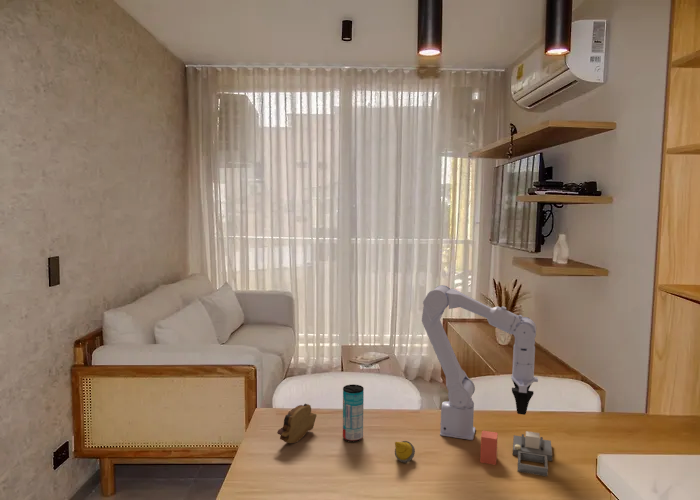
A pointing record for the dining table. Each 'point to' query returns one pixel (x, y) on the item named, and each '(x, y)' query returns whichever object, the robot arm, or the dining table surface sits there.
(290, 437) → the wooden carving
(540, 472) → the frame
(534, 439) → the switch
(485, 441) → the peg
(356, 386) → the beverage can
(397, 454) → the yellow flanged cylinder
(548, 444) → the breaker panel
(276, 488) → the dining table surface
